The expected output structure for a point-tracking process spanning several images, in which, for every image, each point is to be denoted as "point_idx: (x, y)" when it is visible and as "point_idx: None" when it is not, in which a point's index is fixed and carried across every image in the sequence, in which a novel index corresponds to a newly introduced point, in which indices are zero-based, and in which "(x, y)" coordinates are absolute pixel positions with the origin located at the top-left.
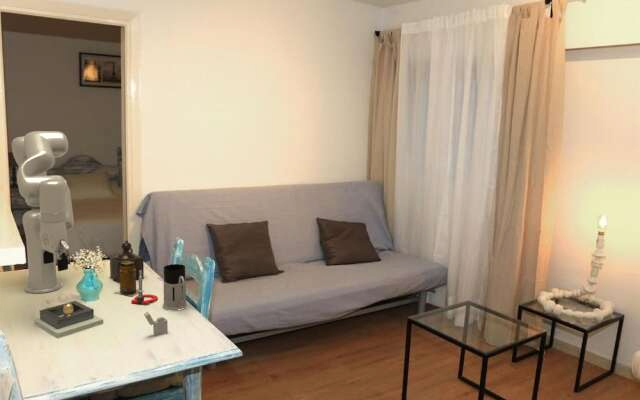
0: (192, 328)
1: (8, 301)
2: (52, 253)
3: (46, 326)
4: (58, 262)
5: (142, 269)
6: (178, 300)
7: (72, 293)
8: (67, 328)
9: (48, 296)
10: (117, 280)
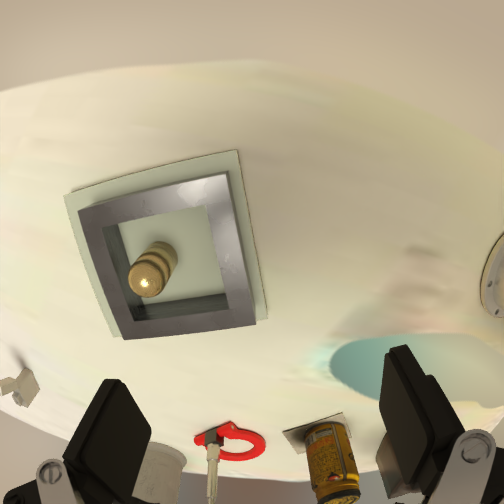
0: (43, 416)
1: (493, 156)
2: (401, 470)
3: (137, 175)
4: (75, 437)
5: (382, 475)
6: None
7: (429, 328)
8: None
9: (459, 265)
10: None
